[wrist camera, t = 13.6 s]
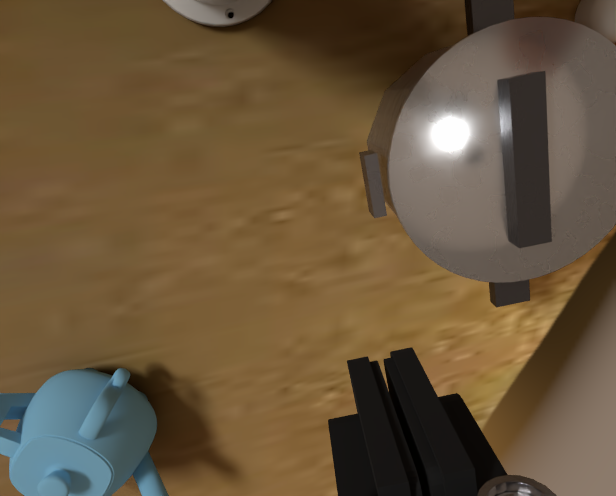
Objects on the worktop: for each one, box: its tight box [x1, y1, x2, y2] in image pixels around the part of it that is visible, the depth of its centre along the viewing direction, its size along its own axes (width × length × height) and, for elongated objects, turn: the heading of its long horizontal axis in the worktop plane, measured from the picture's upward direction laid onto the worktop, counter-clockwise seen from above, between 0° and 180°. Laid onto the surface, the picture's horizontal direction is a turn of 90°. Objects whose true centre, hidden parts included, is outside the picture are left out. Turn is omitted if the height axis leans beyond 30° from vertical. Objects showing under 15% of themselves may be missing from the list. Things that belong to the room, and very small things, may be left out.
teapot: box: [0, 368, 169, 496], centre depth 46 cm, size 20×17×12 cm
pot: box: [359, 0, 530, 307], centre depth 40 cm, size 26×20×10 cm
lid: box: [387, 17, 616, 283], centre depth 33 cm, size 19×19×3 cm
